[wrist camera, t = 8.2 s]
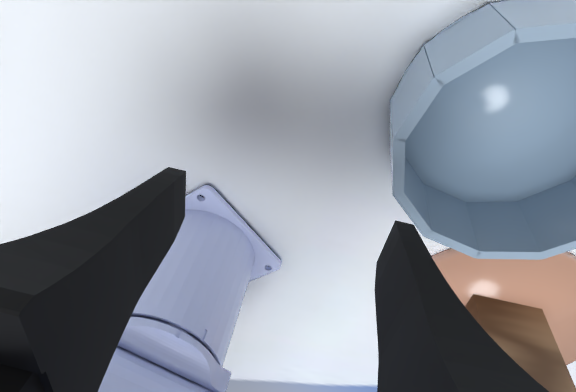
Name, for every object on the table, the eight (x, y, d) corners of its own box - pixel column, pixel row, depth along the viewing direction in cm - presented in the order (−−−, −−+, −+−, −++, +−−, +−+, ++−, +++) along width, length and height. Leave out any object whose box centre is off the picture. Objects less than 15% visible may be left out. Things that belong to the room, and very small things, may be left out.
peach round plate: (437, 385, 34) (438, 394, 34) (351, 283, 29) (351, 292, 28) (631, 346, 28) (637, 356, 28) (569, 206, 23) (575, 215, 22)
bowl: (447, 229, 25) (460, 285, 21) (349, 88, 21) (344, 129, 17) (664, 144, 20) (728, 199, 16) (592, -68, 15) (657, -56, 12)
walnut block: (446, 333, 29) (465, 436, 24) (473, 293, 26) (501, 399, 21) (509, 347, 29) (542, 454, 23) (542, 309, 26) (589, 419, 21)
